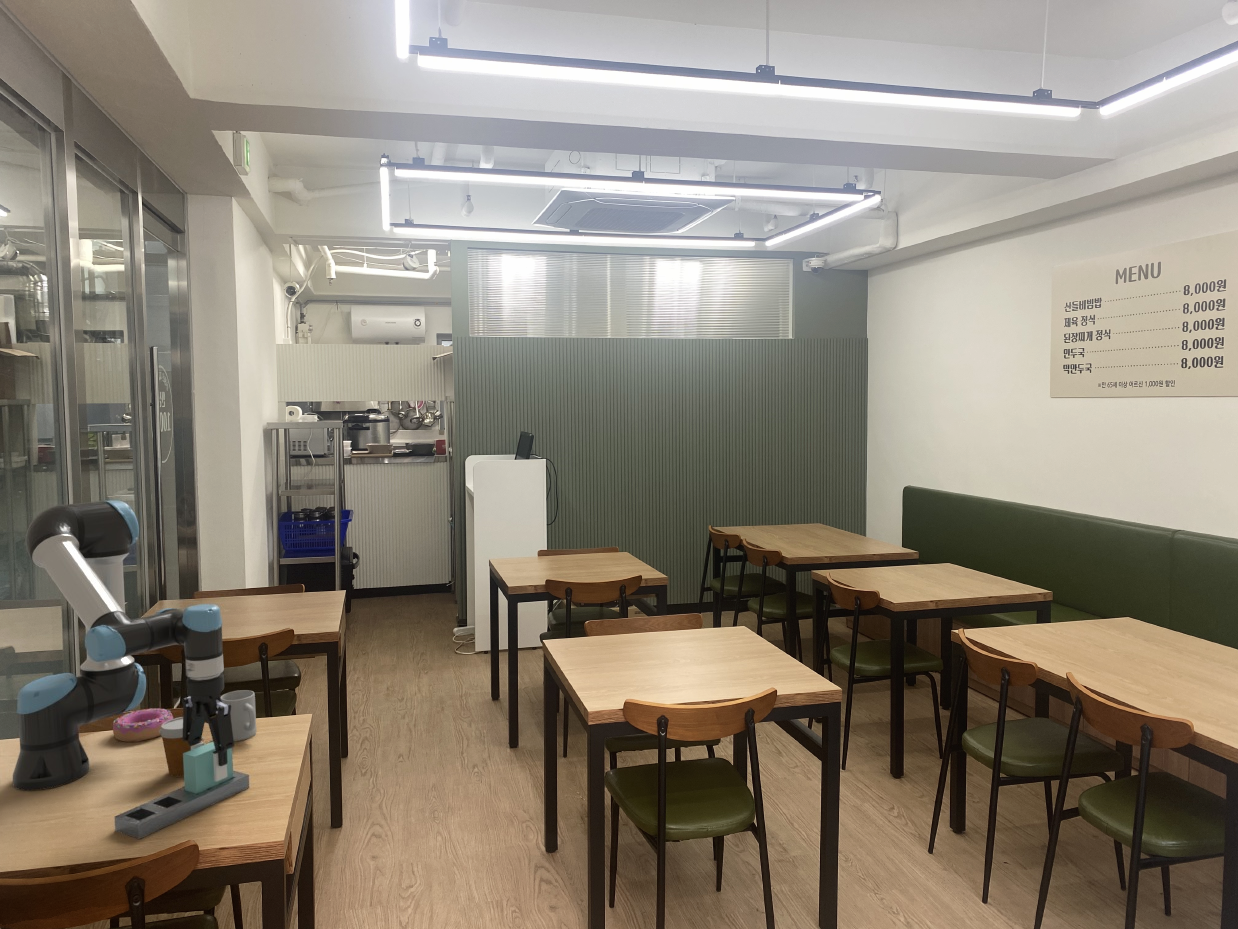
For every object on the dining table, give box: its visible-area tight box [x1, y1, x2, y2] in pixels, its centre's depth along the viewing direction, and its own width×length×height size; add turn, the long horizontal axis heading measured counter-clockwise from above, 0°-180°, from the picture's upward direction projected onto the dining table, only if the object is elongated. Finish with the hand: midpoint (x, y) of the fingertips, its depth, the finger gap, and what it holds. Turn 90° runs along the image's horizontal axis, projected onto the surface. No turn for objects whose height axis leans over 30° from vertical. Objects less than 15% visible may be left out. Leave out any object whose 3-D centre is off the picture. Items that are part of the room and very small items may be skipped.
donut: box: [112, 707, 174, 743], centre depth 225 cm, size 14×14×5 cm
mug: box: [220, 689, 257, 742], centre depth 221 cm, size 12×8×11 cm
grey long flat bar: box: [114, 769, 250, 840], centre depth 181 cm, size 8×26×3 cm, turn 152°
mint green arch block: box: [183, 741, 234, 794], centre depth 186 cm, size 4×9×11 cm, turn 152°
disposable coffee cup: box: [159, 716, 202, 778], centre depth 200 cm, size 10×10×12 cm
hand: (209, 775), depth 187 cm, fingers open, 7 cm apart
